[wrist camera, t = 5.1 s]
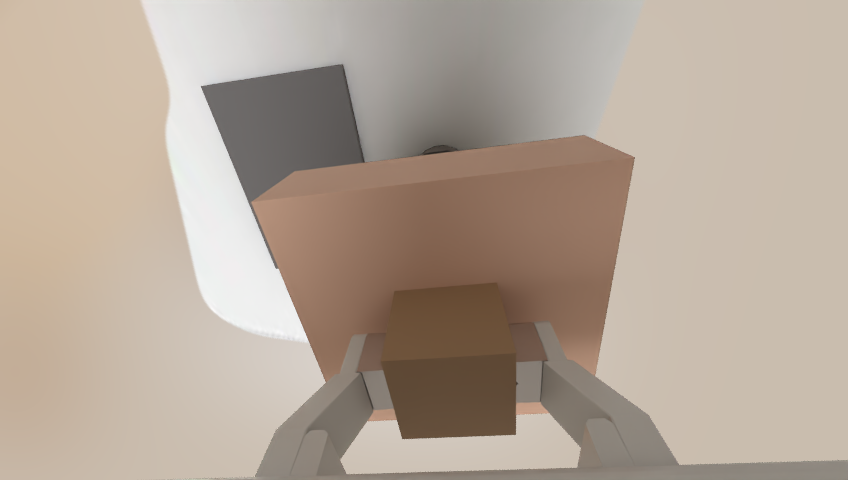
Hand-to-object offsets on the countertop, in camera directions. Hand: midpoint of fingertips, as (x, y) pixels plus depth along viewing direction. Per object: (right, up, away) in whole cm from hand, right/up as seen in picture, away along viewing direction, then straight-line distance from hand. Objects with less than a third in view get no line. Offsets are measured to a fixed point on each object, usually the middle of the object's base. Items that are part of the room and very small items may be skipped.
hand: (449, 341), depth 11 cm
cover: (0, +1, +2) cm, 2 cm away
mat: (-12, +9, +19) cm, 25 cm away
